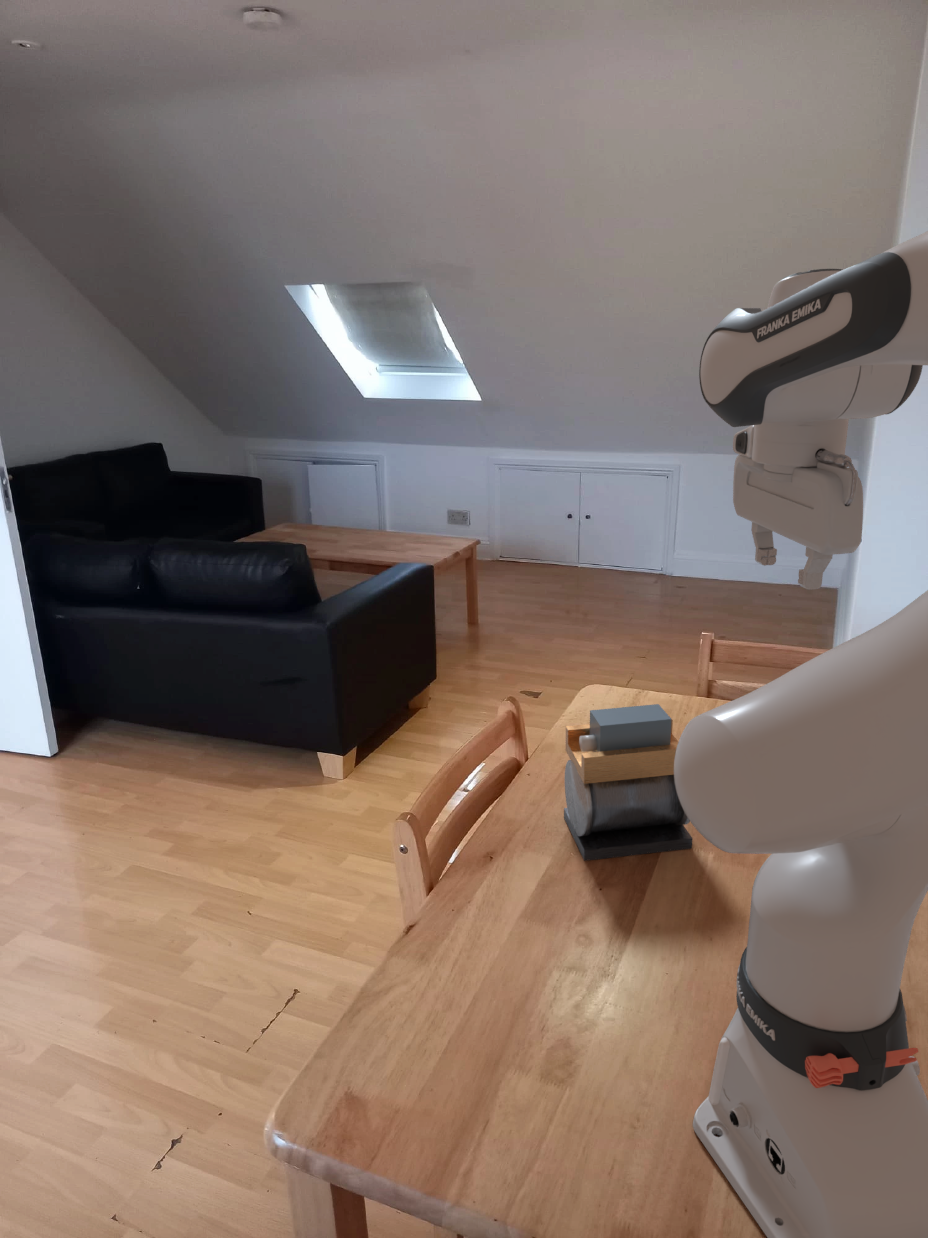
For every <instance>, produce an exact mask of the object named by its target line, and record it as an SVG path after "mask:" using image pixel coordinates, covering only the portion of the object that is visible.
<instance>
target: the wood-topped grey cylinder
mask: <svg viewBox="0 0 928 1238" xmlns="http://www.w3.org/2000/svg"><path fill="white" fill-rule="evenodd" d="M668 716H669V717H670V715H668ZM670 718H671V717H670ZM673 720H674V719H672V720H671V740H670V745H661V746H651V747H641V748H631V749H621V750H611V751H601V752H593V751H588V752H582V751H581V749H580V745H579V738H580V736H585V735H590V723H584V724H573V725H565V752H566V754H567V756H568V758H569V760H567V761H566V764H565V767H564V768H565V769H564V794H565V802H566V807H564V809H563V818H564V821H565V823H566V825H567V827H568V829H569V831H570V832H569V833H570V834H571V836H572V838H573V840H574V842H575V844H576V846H577V848H578V851H579V853H580V855H581V857H582V859H583V861H585V862H587V861H596V860H603V859H604V860H605V859H612V858H620V857H627V856H628V857H630V856H638V855H645V854H646V855H647V854H655V853H663V852H664V853H665V852H673V851H681V850H689V849H690V850H691V849H692V848H693V837H692V835H691V834H690V832H689V831H688V830H687V829H686V827H685V825H688V824H689V823H691V822H690V820H689V819H688V817H687V816H686V814H685V812H684V810H683V808H682V806H681V803H680V801H679V798H678V795H677V791H676V787H675V781H674V759H675V753H676V748H677V745H678V742H679V740H678V739H677V738H676V737H675V735H673V727H674V725H673V723H674V721H673Z"/></svg>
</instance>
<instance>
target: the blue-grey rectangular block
mask: <svg viewBox="0 0 928 1238" xmlns="http://www.w3.org/2000/svg"><path fill="white" fill-rule="evenodd" d="M669 716H670V715H669V714H668V713H667V712H666V711H665V710H664V709H663V708H662V706H661V705H660V704H658V703H656V704H654V703H653V704H645V705H644V704H643V705H635V706H634V705H633V706H625V707H614V708H612V707H611V708H603V709H602V708H601V709H591V710H589V724H590V735H585V736H580V738H579V745H580V749H581V751H582V752H588V751H593V752H601V751H611V750H621V749H631V748H641V747H651V746H661V745H670V740H671V720H673V718H672V717H669Z"/></svg>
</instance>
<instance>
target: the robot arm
mask: <svg viewBox="0 0 928 1238" xmlns="http://www.w3.org/2000/svg"><path fill="white" fill-rule="evenodd" d="M770 292H771V293H770V296H769V299H768V302H767V303H768V304H767V307H766V309H761V307H760V308H759V307H753V308H752V307H749V308H748V307H736V308H734V309H733V310H732V311H731V312H729V313H728V314H727V315H726V316H725V317H724V318H723V319H722V320H721V321H720V322H718V324H717V325H715V327H714V329H713V330H712V331H711V332H710V333H709V334H708V336H707V337H706V340H705V343H704V344H703V348H702V351H701V355H700V360H699V361H700V362H699V370H698V372H699V373H698V374H699V375H698V376H699V377H698V379H699V386H700V392H701V395H702V397H703V399H704V402H705V403H706V404H707V405H708V407H709V408H710V409H711V410H712V411H713V412H714V413H715V414H716V415H717V416H718V417H719V418H721V420H722V421H724V422H725V423H726V424H728V425H729V426H730V427H732V428H739V427H746V428H743V429H742V430H739V431H738V432H736V433H734V435H733V441H732V450H733V452H734V454H738V455H737V456H736V458H735V461H734V466H733V467H734V468H733V481H732V483H733V484H732V486H733V487H732V489H733V490H732V503H733V507H734V510H735V513H736V515H737V516H739V517H740V518H742V519H745V520H747V521H749V522H751V534H752V538H753V544H754V547H755V552H754V553H755V554H754V555H755V556H754V560H755V562H756V563H758V564H760V565H762V566H764V567H765V566H774V565H775V564H776V563H777V556H778V555H777V554H778V549H777V548H775V545H774V536H773V533H776V534H778V535H780V536H781V537H785V538H786V539H789V540H791V541H793V542H796V543H798V544H800V545H802V546H803V547H804V546H805V553H804V555H805V556H806V557H807V561H806V563H805V566H804V568H801V569H799V570H798V579H797V584H798V585H799V586H800V587H801V588H803V589H806V590H808V591H810V590H811V591H812V590H818V589H820V588H822V585H823V575H824V572H825V571H826V570H827V567H828V566H829V564H830V563H831V561H832V559H833V555H843V554H852V553H854V552H855V551H856V550H858V548H859V546H860V544H861V542H862V537H863V523H864V522H863V519H864V492H863V491H864V490H863V483H862V481H861V478H860V476H859V473H858V470H857V469H856V468H855V466H854V464H853V461H852V458H851V457H850V456H848V455H846V447H847V445H846V444H847V437H848V429H849V421H850V420H859V419H860V420H861V419H872V418H877V417H881V416H884V415H890V414H892V413H894V412H895V411H896V410H898V409H899V408H900V407H902V405H903V404H904V403H905V402H906V401H908V399H909V397H910V396H911V395H912V393H914V391H915V389H916V386H917V385H918V383H919V381H920V378H921V374H922V370H923V366H928V230H927V231H925V232H923V233H920V234H917V235H916V236H914V237H912V238H909V239H908V240H906V241H903V242H901V243H898V244H897V245H895V246H893V247H891V248H889V249H887V250H885V251H883V252H882V253H878V254H876V255H873V256H870V257H869V258H867V259H865V260H862V261H860V262H858V263H856V264H854V265H852V266H849V267H847V268H844V269H841V268H818V269H811V270H808V271H807V270H806V271H800V272H797V273H792V274H790V275H787V276H785V277H783V278H782V279H780V280H779V281H777V282H776V283H775V284H774V285H773V287H772V290H771V291H770ZM674 781H675V787H676V791H677V795H678V798H679V801H680V803H681V806H682V808H683V810H684V812H685V814H686V816H687V817H688V819H689V820H690V822H689V823H690V824H692V826H693V827H694V828H695V830H696V831H697V832H698V833H699V834H700V835H701V836H702V837H703V838H704V839H705V840H706V841H708V842H709V843H710V844H712V845H713V846H714V847H716V848H717V849H718V850H721V851H722V852H725V853H729V854H751V855H753V854H757V855H760V854H762V855H763V854H764V855H765V854H766V855H769V854H770V855H769V856H768V857H767V858H766V860H765V861H764V862H763V864H762V865H761V867H760V868H759V870H758V872H757V874H756V876H755V879H754V881H753V886H752V888H751V889H752V890H751V899H750V911H749V921H748V932H747V933H748V934H747V942H746V943H747V944H746V947H745V949H744V950H743V952H742V955H741V956H740V957H741V958H740V962H739V965H738V968H737V971H736V972H737V974H736V981H735V982H736V1005H737V1009H736V1010H735V1013H734V1015H733V1017H732V1019H731V1020H730V1022H729V1024H728V1026H727V1028H726V1030H725V1031H724V1032H723V1035H722V1036H721V1039H720V1040H719V1043H718V1048H717V1051H716V1058H715V1062H714V1067H713V1072H712V1077H711V1083H710V1088H709V1093H708V1096H707V1097H706V1098H705V1099H704V1100H703V1101H702V1102H701V1103H700V1105H699V1106H698V1107H697V1109H696V1111H695V1113H694V1117H693V1122H692V1128H693V1130H694V1132H695V1133H694V1134H696V1136H697V1137H698V1138H699V1140H700V1142H702V1144H703V1146H704V1147H705V1149H706V1150H707V1152H708V1153H709V1154H710V1156H711V1158H712V1159H713V1161H714V1162H715V1164H717V1166H718V1168H719V1169H720V1171H721V1172H722V1173H723V1175H724V1177H725V1178H726V1179H727V1181H728V1182H729V1184H730V1185H731V1187H732V1188H733V1190H734V1191H735V1192H736V1193H737V1195H738V1197H739V1198H740V1200H741V1201H742V1203H743V1204H744V1205H745V1207H746V1208H747V1210H748V1211H749V1213H750V1215H751V1216H752V1217H753V1219H754V1220H755V1222H756V1223H757V1224H758V1226H759V1227H760V1230H761V1231H762V1232H763V1233H764V1235H765V1236H766V1237H767V1238H928V1098H927V1095H926V1093H925V1090H924V1088H923V1086H922V1084H921V1081H920V1079H919V1075H920V1072H921V1068H920V1065H919V1061H918V1058H916V1057H915V1056H914V1055H915V1054H917V1053H919V1049H918V1048H917V1047H910V1046H909V1037H908V1030H907V1022H908V1020H907V1019H908V1018H907V1012H906V1011H907V1010H906V1007H905V1004H904V999H903V992H902V990H901V983H902V977H903V972H904V968H905V963H906V962H905V961H906V958H907V952H908V947H909V943H910V939H911V934H912V930H913V926H914V922H915V919H916V917H917V915H918V912H919V909H920V907H921V905H922V903H923V901H924V899H925V897H926V895H927V893H928V589H927V590H926V591H925V592H924V593H922V594H920V595H919V596H918V597H917V598H915V599H914V600H913V601H911V602H910V603H909V604H908V605H906V606H905V607H904V608H902V609H901V610H900V611H898V612H896V613H895V614H894V615H892V616H891V617H889V618H887V619H886V620H885V621H883V622H881V623H880V624H878V625H876V626H874V627H872V628H869V630H866V631H864V632H863V633H861V634H859V635H857V636H855V637H853V638H851V639H849V640H847V641H845V642H843V643H841V644H839V645H836V646H835V647H832V648H831V649H829V650H826V651H824V652H823V653H821V654H819V655H817V656H815V657H813V658H811V659H810V660H807V661H806V662H804V663H802V664H800V665H798V666H797V667H795V668H793V669H791V670H790V671H787V672H786V673H784V674H782V675H781V676H779V677H777V678H775V679H773V680H772V681H770V682H768V683H766V684H764V685H762V686H760V687H758V688H756V689H754V690H752V691H751V692H748V693H746V694H744V695H742V696H740V697H738V698H736V699H733V700H730V701H728V702H726V703H723V704H721V705H719V706H716V707H714V708H712V709H710V710H707V711H705V712H703V713H700V714H698V715H696V716H694V717H693V718H692V719H690V720H689V722H688V723H687V724H686V725H685V727H684V729H683V730H682V733H681V734H680V737H679V740H678V745H677V748H676V753H675V759H674ZM909 1047H910V1048H909ZM716 1135H717V1136H716Z"/></svg>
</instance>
